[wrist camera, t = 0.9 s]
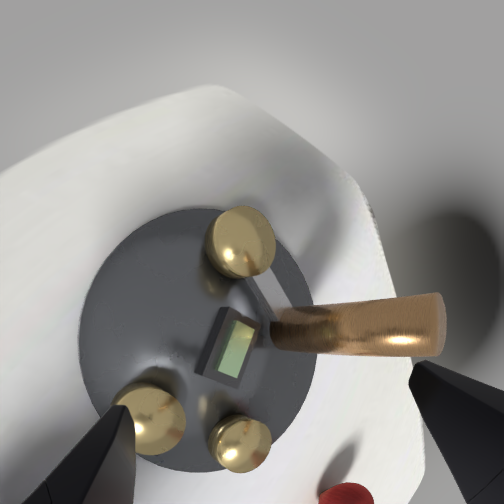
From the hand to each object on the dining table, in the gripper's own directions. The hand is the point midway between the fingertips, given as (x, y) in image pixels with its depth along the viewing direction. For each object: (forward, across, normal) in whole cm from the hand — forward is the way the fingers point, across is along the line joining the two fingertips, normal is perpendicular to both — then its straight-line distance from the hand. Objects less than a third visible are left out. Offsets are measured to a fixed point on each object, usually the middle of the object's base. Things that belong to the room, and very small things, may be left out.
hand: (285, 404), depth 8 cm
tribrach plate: (+12, +2, +7) cm, 14 cm away
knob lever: (+15, -2, +3) cm, 15 cm away
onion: (+8, -8, +28) cm, 30 cm away
